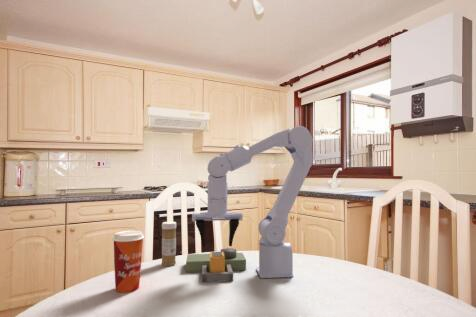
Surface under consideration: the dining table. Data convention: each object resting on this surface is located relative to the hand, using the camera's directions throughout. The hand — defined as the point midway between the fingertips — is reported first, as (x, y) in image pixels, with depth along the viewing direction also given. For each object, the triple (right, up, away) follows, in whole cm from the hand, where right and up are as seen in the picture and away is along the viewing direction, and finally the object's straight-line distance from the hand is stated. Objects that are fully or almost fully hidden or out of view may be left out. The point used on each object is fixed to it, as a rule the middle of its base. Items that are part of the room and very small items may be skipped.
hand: (217, 245), depth 85 cm
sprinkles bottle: (-16, -9, +9) cm, 21 cm away
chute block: (0, -8, -1) cm, 8 cm away
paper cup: (-22, -8, -10) cm, 26 cm away
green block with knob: (0, -8, +3) cm, 9 cm away
